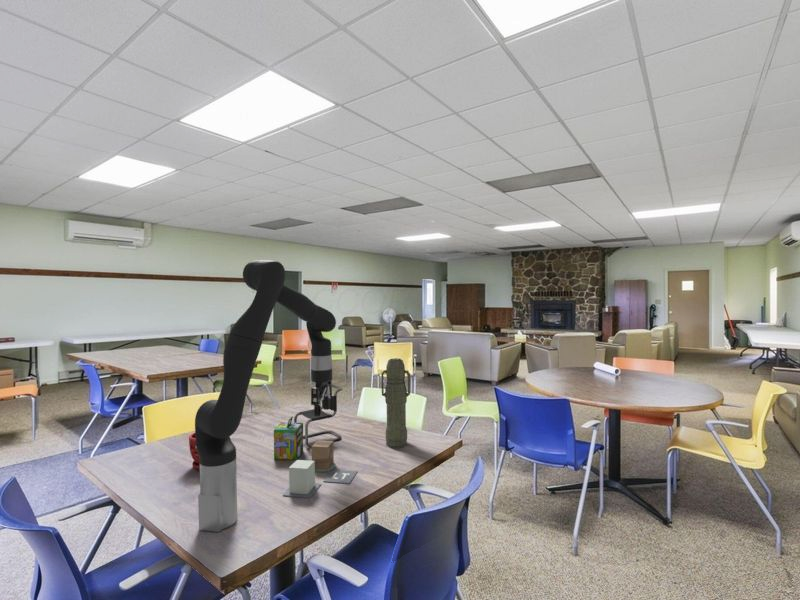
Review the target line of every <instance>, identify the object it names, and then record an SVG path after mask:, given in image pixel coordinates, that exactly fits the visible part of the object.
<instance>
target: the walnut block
mask: <svg viewBox="0 0 800 600" xmlns="http://www.w3.org/2000/svg"><path fill="white" fill-rule="evenodd" d="M312 444H313V445H312V446H311V447H310V448H311V461H315V469H323V470H328V469H329V468H330V467H331V466H332V464H333V463H335V462H334V461H335V459H334V456H335V455H334V453H335V452H334V451H335V450H334V442H333V441H327V440H322V439H321V440H319V439H317V441H315V442H314V443H312Z"/></svg>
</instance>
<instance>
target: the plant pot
mask: <svg viewBox="0 0 800 600" xmlns="http://www.w3.org/2000/svg"><path fill="white" fill-rule="evenodd" d="M188 446H189V452H190V455H191V458H192V459H193V461H192V468H194V469H196V470H199V471H200V459H199V455H198V452H197V449H196V436H195V432H193V433H191V434H190V435H189V437H188Z"/></svg>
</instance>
